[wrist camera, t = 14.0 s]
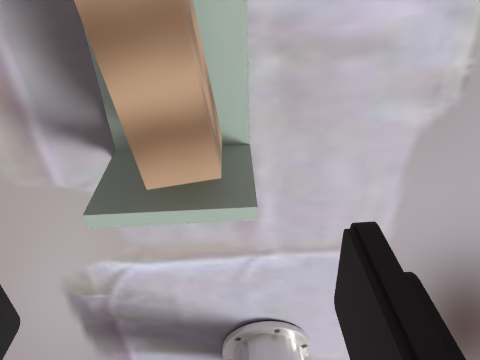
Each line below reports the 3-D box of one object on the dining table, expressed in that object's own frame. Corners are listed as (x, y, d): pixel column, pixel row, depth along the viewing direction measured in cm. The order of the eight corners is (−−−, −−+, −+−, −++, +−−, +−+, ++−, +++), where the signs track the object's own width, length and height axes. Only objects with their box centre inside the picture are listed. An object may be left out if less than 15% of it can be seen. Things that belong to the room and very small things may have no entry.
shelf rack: (249, 154, 34) (257, 226, 26) (122, 160, 34) (89, 234, 26) (239, -303, 19) (252, -495, 10) (8, -296, 19) (-169, -484, 10)
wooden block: (42, -211, 18) (-30, -268, 13) (141, -234, 17) (108, -302, 12) (160, 145, 29) (146, 189, 24) (221, 135, 28) (221, 178, 23)
